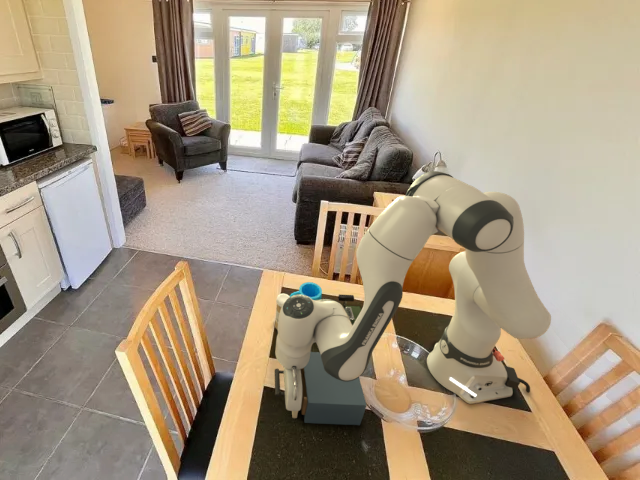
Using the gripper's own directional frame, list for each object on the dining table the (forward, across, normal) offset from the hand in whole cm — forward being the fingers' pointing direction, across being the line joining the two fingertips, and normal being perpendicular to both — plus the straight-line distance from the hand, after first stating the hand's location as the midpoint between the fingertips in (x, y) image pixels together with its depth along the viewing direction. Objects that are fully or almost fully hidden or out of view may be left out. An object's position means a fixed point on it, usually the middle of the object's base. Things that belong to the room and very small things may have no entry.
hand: (288, 382), depth 86 cm
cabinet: (+5, 0, -11) cm, 13 cm away
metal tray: (+5, +27, -21) cm, 35 cm away
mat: (+6, +27, -21) cm, 35 cm away
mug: (+5, +32, -8) cm, 34 cm away
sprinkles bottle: (+6, +23, +1) cm, 24 cm away
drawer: (+4, 0, -5) cm, 7 cm away
